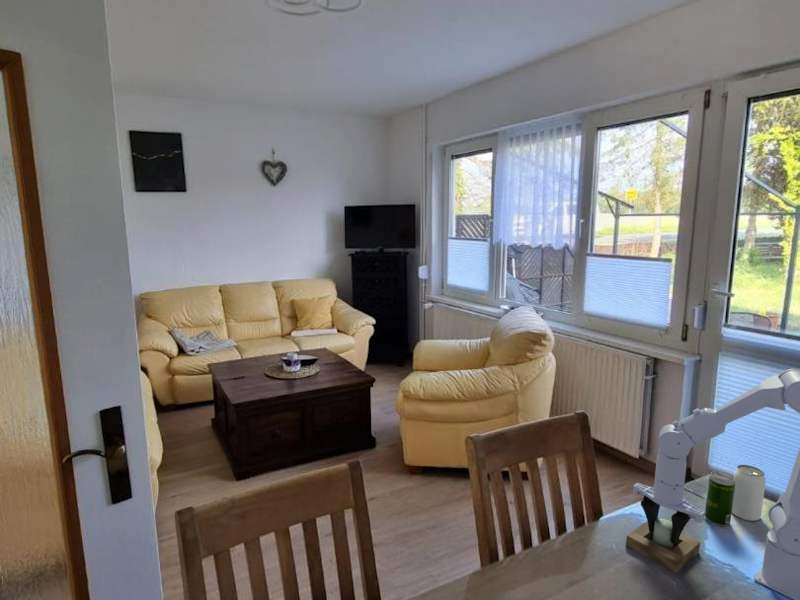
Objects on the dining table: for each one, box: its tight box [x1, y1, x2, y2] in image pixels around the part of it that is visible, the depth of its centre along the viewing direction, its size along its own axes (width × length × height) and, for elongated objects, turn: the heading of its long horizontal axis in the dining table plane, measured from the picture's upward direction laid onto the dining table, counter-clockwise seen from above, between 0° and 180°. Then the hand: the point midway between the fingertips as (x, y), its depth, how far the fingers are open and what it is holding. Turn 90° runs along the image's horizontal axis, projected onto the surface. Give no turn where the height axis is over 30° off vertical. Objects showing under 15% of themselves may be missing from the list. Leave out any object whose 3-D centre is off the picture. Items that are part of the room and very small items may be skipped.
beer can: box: [704, 470, 735, 528], centre depth 122 cm, size 5×5×12 cm
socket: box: [625, 520, 701, 573], centre depth 111 cm, size 11×11×2 cm
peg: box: [652, 517, 674, 551], centre depth 111 cm, size 4×4×5 cm
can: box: [732, 464, 767, 522], centre depth 125 cm, size 6×6×12 cm
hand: (663, 535), depth 111 cm, fingers open, 4 cm apart
